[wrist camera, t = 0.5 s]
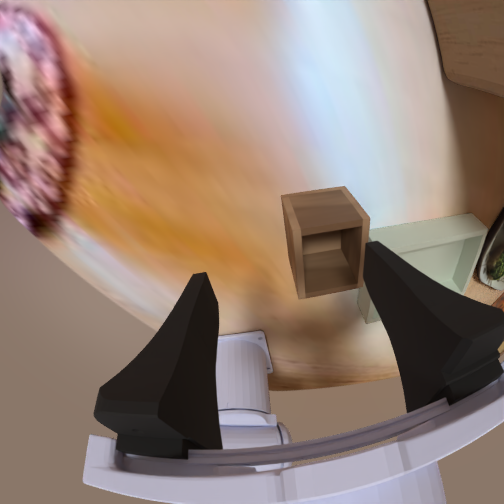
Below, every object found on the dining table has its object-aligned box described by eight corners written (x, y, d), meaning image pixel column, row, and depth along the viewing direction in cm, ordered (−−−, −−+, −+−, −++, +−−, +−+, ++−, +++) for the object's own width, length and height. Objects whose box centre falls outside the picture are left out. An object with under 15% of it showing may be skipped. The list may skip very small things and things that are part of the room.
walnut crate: (343, 247, 24) (363, 286, 20) (288, 257, 24) (298, 299, 20) (344, 185, 20) (370, 217, 16) (280, 194, 20) (292, 230, 16)
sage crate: (451, 278, 27) (463, 295, 25) (357, 302, 28) (366, 324, 26) (471, 212, 22) (488, 228, 19) (365, 230, 23) (378, 251, 20)
